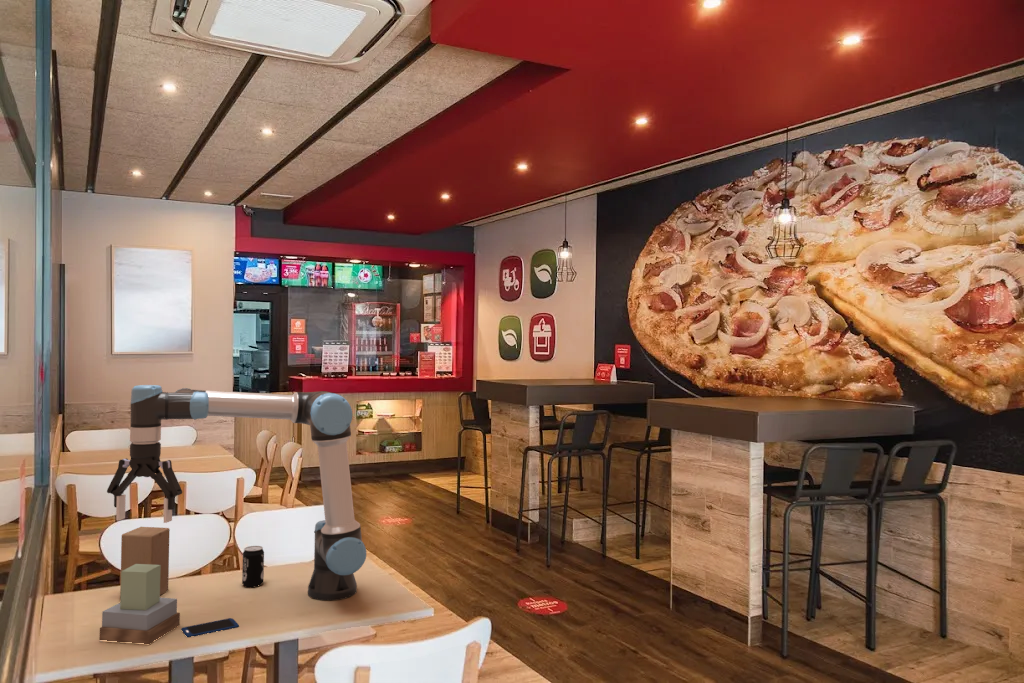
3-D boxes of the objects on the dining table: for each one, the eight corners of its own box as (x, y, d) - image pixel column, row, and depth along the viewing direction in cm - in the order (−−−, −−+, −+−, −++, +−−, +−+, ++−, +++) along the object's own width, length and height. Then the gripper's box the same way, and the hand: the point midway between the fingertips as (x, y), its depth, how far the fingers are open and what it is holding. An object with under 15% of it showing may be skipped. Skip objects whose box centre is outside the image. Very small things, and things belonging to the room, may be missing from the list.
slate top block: (176, 613, 207) (177, 598, 207) (146, 630, 194) (147, 615, 194) (134, 609, 209) (134, 595, 209) (101, 626, 196) (102, 611, 196)
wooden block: (168, 590, 236) (170, 527, 236) (150, 601, 226) (151, 535, 226) (139, 589, 237) (140, 526, 237) (119, 599, 227) (120, 534, 227)
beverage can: (259, 588, 240) (260, 551, 240) (238, 587, 240) (239, 550, 240) (266, 581, 246) (267, 545, 246) (246, 581, 246) (247, 545, 246)
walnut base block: (179, 626, 208) (179, 612, 208) (149, 647, 194) (149, 631, 194) (132, 623, 209) (133, 609, 209) (99, 643, 195) (99, 628, 195)
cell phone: (180, 630, 205) (180, 627, 205) (232, 620, 213) (232, 617, 213) (186, 639, 199) (186, 636, 199) (240, 628, 207) (240, 625, 207)
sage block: (159, 601, 205) (160, 564, 205) (145, 610, 198) (146, 572, 198) (135, 600, 205) (136, 563, 205) (120, 609, 198) (121, 571, 198)
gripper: (196, 441, 204) (195, 519, 204) (111, 439, 207) (110, 515, 207) (181, 445, 197) (179, 525, 197) (93, 442, 199) (92, 521, 199)
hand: (144, 520), depth 202 cm, fingers open, 13 cm apart
